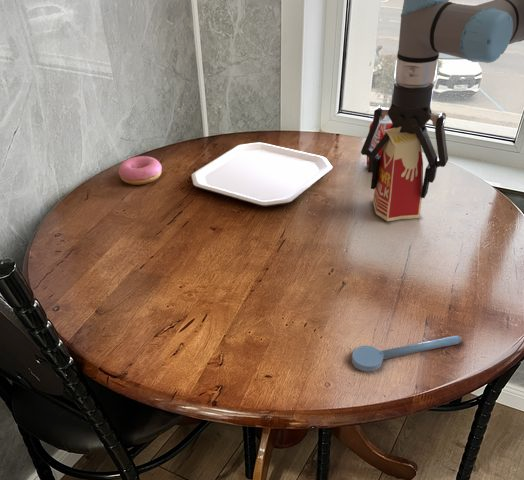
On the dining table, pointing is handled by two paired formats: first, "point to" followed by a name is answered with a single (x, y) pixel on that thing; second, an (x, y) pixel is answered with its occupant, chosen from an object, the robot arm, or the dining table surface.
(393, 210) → the milk carton
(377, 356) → the spoon
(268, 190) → the plate
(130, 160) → the doughnut
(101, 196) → the dining table surface
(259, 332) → the dining table surface
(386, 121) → the soda can
